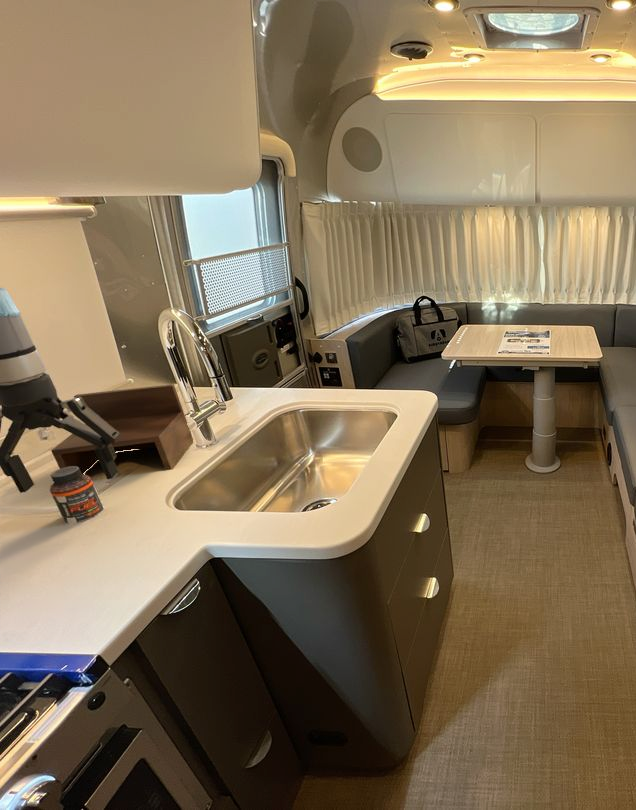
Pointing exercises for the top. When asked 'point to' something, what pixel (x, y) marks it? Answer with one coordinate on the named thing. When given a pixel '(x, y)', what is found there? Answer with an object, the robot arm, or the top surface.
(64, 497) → the supplement bottle
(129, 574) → the top surface
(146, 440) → the shelf
